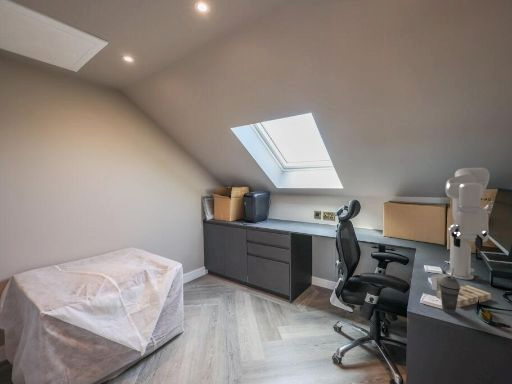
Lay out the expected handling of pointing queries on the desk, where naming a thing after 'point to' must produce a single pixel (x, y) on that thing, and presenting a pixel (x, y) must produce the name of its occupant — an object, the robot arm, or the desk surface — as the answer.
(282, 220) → the desk surface
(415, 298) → the desk surface
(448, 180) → the robot arm
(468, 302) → the slatted wooden pallet
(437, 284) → the clip
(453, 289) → the beverage cup
